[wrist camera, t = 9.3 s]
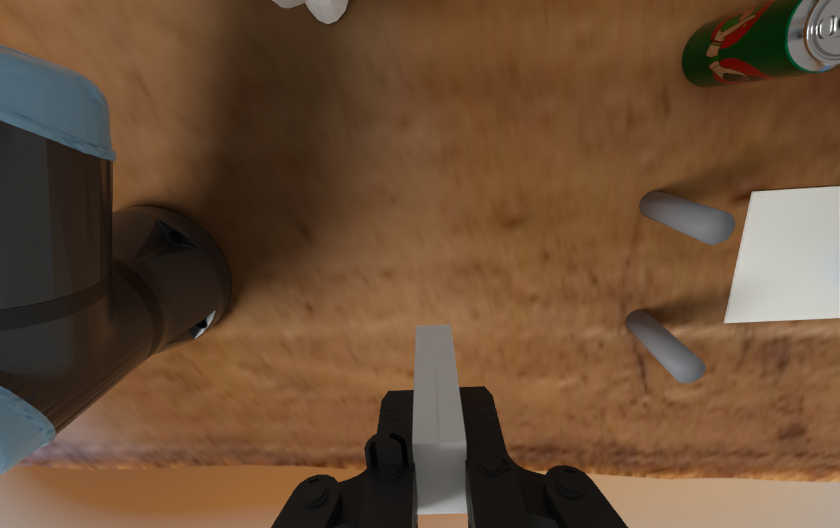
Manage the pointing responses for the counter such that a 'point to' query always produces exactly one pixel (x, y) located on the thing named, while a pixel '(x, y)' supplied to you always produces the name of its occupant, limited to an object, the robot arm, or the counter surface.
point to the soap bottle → (319, 8)
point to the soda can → (765, 43)
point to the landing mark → (788, 257)
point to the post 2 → (665, 347)
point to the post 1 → (688, 217)
